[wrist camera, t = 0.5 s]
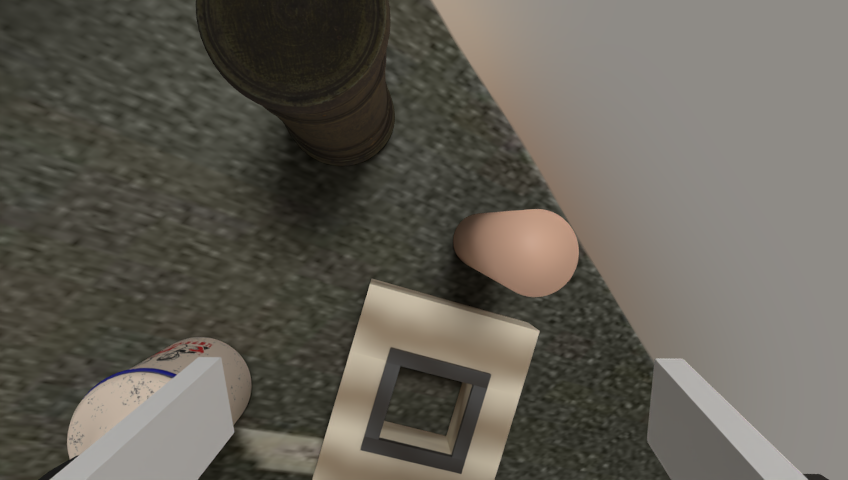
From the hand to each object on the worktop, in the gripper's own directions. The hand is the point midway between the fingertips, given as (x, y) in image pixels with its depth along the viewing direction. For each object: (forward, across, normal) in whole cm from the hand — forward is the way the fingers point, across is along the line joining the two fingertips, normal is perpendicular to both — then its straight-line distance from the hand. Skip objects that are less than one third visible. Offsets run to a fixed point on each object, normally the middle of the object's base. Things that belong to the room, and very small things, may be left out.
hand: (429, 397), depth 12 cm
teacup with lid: (+19, -23, -13) cm, 32 cm away
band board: (+22, -3, -15) cm, 26 cm away
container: (+26, -9, +10) cm, 29 cm away
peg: (+25, +3, -1) cm, 25 cm away
